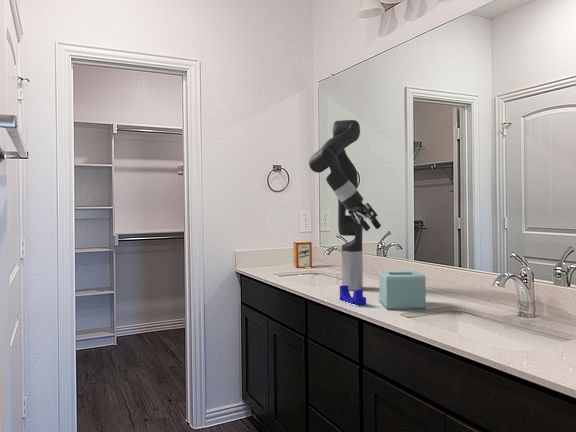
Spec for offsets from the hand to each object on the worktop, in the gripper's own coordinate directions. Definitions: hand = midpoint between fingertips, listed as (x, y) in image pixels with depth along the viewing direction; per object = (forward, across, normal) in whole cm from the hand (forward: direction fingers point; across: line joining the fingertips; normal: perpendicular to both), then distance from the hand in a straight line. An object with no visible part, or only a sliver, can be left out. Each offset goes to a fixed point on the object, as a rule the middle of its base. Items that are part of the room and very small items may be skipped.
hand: (373, 228), depth 172 cm
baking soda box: (+17, +107, +2) cm, 108 cm away
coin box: (+29, -2, +11) cm, 31 cm away
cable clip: (+19, +9, +22) cm, 30 cm away
